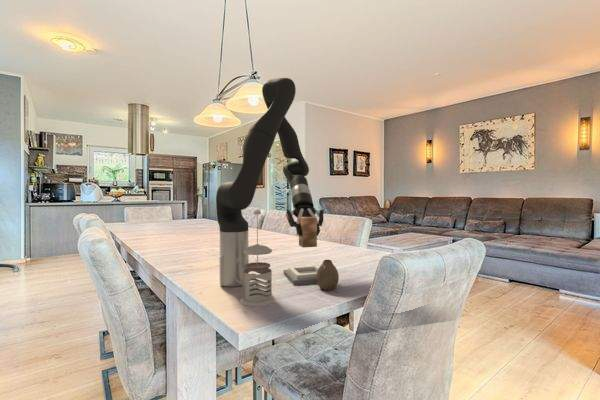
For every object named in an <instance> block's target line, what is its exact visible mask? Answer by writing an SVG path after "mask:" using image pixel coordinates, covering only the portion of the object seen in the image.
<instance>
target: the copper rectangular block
mask: <svg viewBox="0 0 600 400" xmlns="http://www.w3.org/2000/svg"><path fill="white" fill-rule="evenodd" d="M299 219H300V225H301V230H302V235H301V236H299V235H298V246H300V247H302V248H317V247H318V236H317V220H318V218H317V217H311V216H310V217H299Z"/></svg>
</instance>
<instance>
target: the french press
mask: <svg viewBox="0 0 600 400" xmlns="http://www.w3.org/2000/svg"><path fill="white" fill-rule="evenodd" d="M253 214H254V215H256V244H254V245H250V246H249V247H247V248H246V249H244V250H243V253H244V254H248V255H249V256H256V261H255V262H249V263H248V264H246V265H245V268H247V269H245V270H244V283H243V282H241V281H239V280H237V279H236V277H235V267H234V265H235V266H236V264H237V263H238V261H239V260H241V259H242V258H243V262H245V258H244V257H243V256H241V257H242V258H241V257H239V258H241V259H239V258H238V259H239V260H238V259H237V260H238V261H237V260H236V261H237V262H236V261H235V263H236V264H235V263H234V265H233V275H234V278H235V279H236V281H237V282H239V283H240V282H241V283H240V284H243V285H242V297H241V298H240V299H239V303H240V302H241V305H243V304H244V305H245V306H247V307H248V306H249V307H263V306H269V305H271V304H273V303H274V302H276V297H275V296H274V295H273V294H272V291H273V290H272V287H273V286H272V284H273V283H272V282H273V281H272V277H273V275H272V274H273V273H272V269H271V268H270V267H271V264H270V263H269V262H259V256H262V255H269V254H271V253H272V252H273V250H272V249H271V248H270V247H268V246H267V245H262V244H259V237H258V236H259V235H258V234H259V231H258V229H259V228H258V227H259V226H258V225H259V222H258V221H259V220H258V219H259V218H258V216H259V215H261V214H262V213H261V210H259V209H256V210H255V211H253ZM252 272H253V273H252ZM247 273H249V274H247ZM256 273H257V274H256Z"/></svg>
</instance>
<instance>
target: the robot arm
mask: <svg viewBox="0 0 600 400" xmlns="http://www.w3.org/2000/svg"><path fill="white" fill-rule="evenodd" d="M261 90H262V91H261V92H262V93H261V94H262V97H263V100H264V103H265V106H266V109H267V110H266V111H265V112H264V113H263V114H262V115H261V116H260V117H259V118H257V119H256V121H254V123H253V124H251V126H250V128H249V129H248V132H247V134H246V136H245V138H244V141H243V145H242V164H241V167H240V170H239V172H238V174H237V176H236V178H235V180H234V181H227V182H226V181H225V182H223V183H221V184H220V185H219V187H217V190H216V196H215V202H216V204H215V205H216V206H215V207H216V220H217V224H218V228H219V285H220V287H240V286H242V287H243V284H240V283H241V282H243V283H244V270H245V269H247V268H245V265H246V264H248V263H250V261H249V260H250V259H249V256H250V255H248V254H244V253H243V250H244V249H246V248H247V247H250V246H249V222H248V221H247V220H246V218H244V216H243V213H242V211H243V210H245V209H247V208H249V206H250V205H251V203H252V202H253V199H254V197H255V193H256V191H257V186H258V184H259V180H260V176H261V173H262V171H263V169H264V166H265V163H266V161H267V158H268V155H269V154H270V151H271V149H272V147H273V145H274V142H275V140H276V136H277V135H278V139H279V142H280V147H281V149H282V153H283V156H284V158H285V159H293V160H294V161H290V162H286V163H284V165H283V167H282V172H283V173H282V174H284V177H285V178H286V179H287V181H288V183H289V187H290V191H291V192H290V195H291V196H290V197H291V202H292V208H293V210H290V209H287V210H286V213H285V217H286V219H287V222H288V224H289V226H290V227H291V228H293V227H294V228H295V230H296V235H298V237H299V236H301V235H302V230H301V225H300V219H299V217H310V216H311V217H316V216H317V217H318V219H317V237H318V236H319V235H320V232H321V229H320V228H321V227H322V226H323V223H324V210H323V209H322V208H321V209H320V210H317V209H316V208H315V206H314V202H313V198H312V197H313V196H312V193H311V190H310V186H309V182H308V180H307V178H306V176H308V175H309V172H310V168H309V164H308V163H307V161H306V159H305V157H304V156H303V154H302V153H303V152H302V151H301V148H300V143H299V139H298V138H299V137H298V135H297V133H296V131H295V129H294V128H293V126H292V125H291V123H290V122H289V120H287V118H286V115H287V114H288V112H289V110H290V108H291V106H292V104H293V103H294V100H295V97H296V92H297V91H296V90H297V89H296V85H295V82H294V80H292V79H291V78H289V77H279V78H272V79H268V80H265V82H263V84H262V88H261ZM293 215H294V217H296V218H297V219H296V221H295V220H294V217H293ZM317 217H316V218H317ZM241 256H243V257H244V258H245V262H243V258H242V257H241ZM239 257H241V258H242V259H241V258H239ZM238 258H239V259H241V260H239V259H238ZM237 259H238V260H239V261H238V260H237ZM236 260H237V261H238V263H237V264H236V263H235V261H236ZM237 261H236V262H237ZM234 263H235V264H236V266H235V265H234ZM233 265H234V267H235V277H236V279H237V280H239V281H241V282H240V283H239V282H237V281H236V279H235V278H234V275H233ZM247 274H250V272H249V273H247Z"/></svg>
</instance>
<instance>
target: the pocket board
mask: <svg viewBox="0 0 600 400" xmlns="http://www.w3.org/2000/svg"><path fill="white" fill-rule="evenodd" d="M319 267H320V266H319V265H303V266H289V267H288V269H283V275H284V276H285V278H286V279H287V280H288V281H290V283H291V284H292V285H293V286H299V285H300V286H301V285H310V284H311V285H313V284H318V283H317V279H316V275H317V271H318V269H319Z"/></svg>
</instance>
